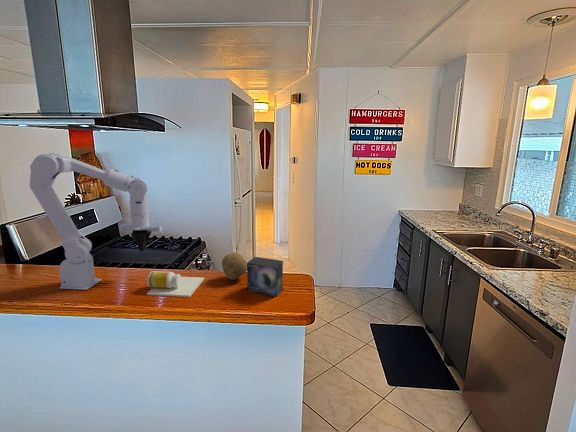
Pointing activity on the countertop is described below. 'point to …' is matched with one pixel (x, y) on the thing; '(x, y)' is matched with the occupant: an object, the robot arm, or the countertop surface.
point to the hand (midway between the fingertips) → (142, 250)
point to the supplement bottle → (163, 279)
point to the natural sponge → (234, 266)
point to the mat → (179, 288)
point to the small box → (265, 276)
